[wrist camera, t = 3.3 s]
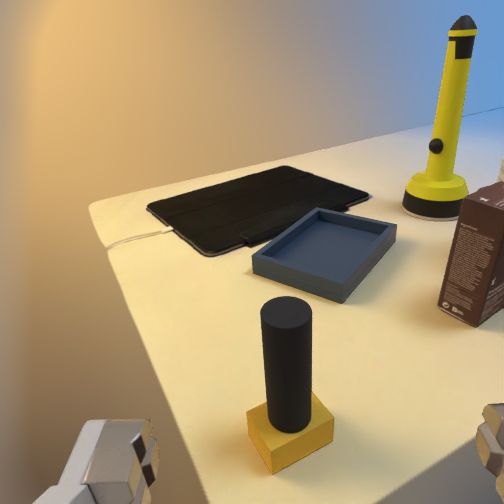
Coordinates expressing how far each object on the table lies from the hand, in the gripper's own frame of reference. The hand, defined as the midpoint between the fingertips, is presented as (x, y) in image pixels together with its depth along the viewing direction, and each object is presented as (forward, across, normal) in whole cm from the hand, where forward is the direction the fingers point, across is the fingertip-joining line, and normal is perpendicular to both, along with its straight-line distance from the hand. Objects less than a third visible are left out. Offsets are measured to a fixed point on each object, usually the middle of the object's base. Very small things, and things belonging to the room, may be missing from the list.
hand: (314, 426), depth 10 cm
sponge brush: (+12, 0, +17) cm, 21 cm away
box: (+26, -19, +18) cm, 37 cm away
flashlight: (+50, -24, +18) cm, 58 cm away
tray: (+37, -6, +17) cm, 42 cm away
